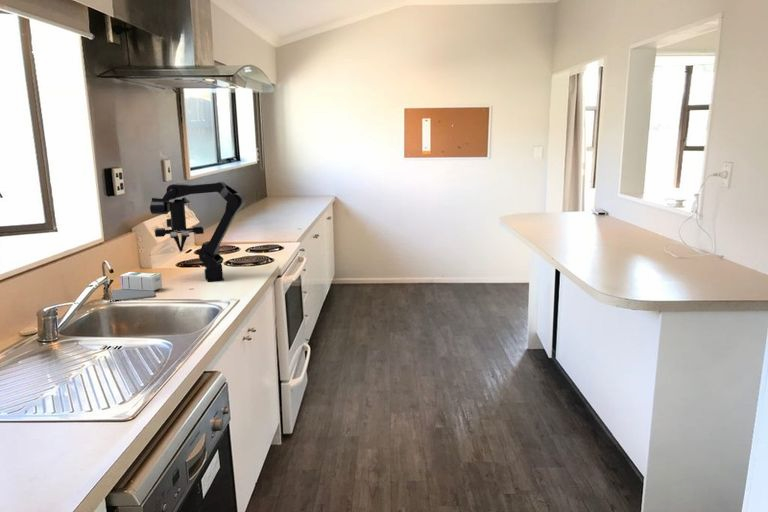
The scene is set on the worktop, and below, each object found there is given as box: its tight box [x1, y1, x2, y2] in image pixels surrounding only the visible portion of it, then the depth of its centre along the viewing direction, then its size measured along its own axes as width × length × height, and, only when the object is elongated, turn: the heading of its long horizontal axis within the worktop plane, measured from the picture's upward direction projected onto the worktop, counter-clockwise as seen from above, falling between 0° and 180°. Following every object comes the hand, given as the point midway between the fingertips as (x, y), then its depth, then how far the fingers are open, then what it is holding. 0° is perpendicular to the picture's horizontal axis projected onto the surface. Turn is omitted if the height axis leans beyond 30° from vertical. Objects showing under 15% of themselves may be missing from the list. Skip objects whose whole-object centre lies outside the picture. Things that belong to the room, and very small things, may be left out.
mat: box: [107, 288, 156, 302], centre depth 211 cm, size 16×16×1 cm
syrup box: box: [119, 271, 163, 292], centre depth 217 cm, size 6×6×14 cm
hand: (180, 251), depth 231 cm, fingers closed
